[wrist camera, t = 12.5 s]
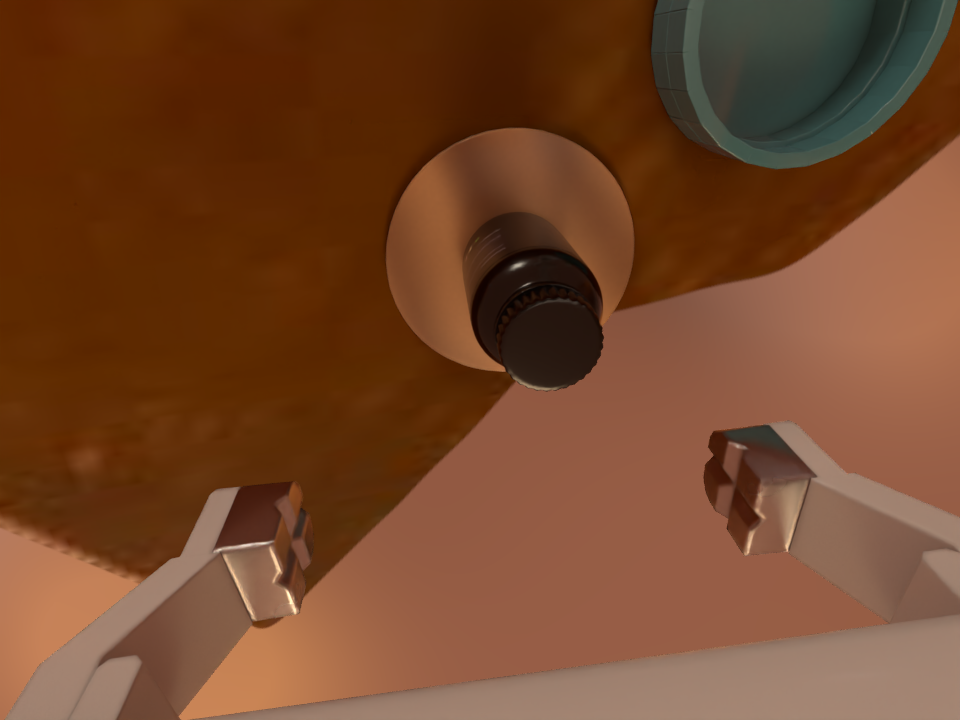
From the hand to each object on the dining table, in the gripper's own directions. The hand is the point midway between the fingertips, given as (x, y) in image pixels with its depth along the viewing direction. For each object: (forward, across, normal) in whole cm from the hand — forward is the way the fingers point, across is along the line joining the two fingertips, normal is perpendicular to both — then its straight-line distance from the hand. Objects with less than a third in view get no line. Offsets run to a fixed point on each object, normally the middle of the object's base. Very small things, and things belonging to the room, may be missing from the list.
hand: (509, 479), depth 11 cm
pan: (+26, -18, -7) cm, 32 cm away
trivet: (+25, -3, +5) cm, 26 cm away
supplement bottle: (+25, -4, +5) cm, 26 cm away
